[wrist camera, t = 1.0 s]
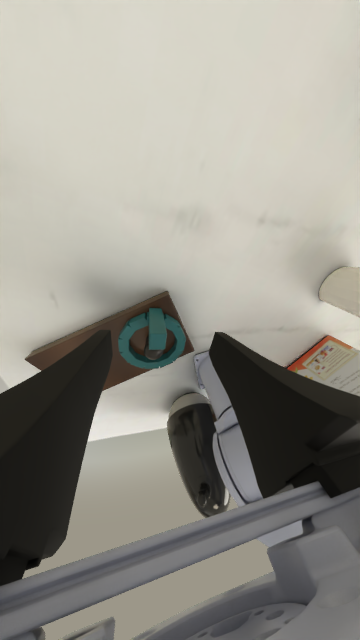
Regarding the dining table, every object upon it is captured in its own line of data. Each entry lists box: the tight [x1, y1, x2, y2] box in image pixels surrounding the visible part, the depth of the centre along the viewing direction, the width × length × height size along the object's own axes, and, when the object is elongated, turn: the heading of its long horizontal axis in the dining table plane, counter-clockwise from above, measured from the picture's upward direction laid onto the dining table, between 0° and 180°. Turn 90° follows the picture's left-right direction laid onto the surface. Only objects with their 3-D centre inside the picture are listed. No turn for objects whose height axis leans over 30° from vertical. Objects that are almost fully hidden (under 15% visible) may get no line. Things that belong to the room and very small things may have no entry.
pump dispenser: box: [167, 393, 231, 518], centre depth 24 cm, size 10×10×15 cm
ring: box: [118, 308, 186, 369], centre depth 16 cm, size 9×8×6 cm
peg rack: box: [25, 291, 194, 391], centre depth 17 cm, size 19×10×7 cm, turn 112°
